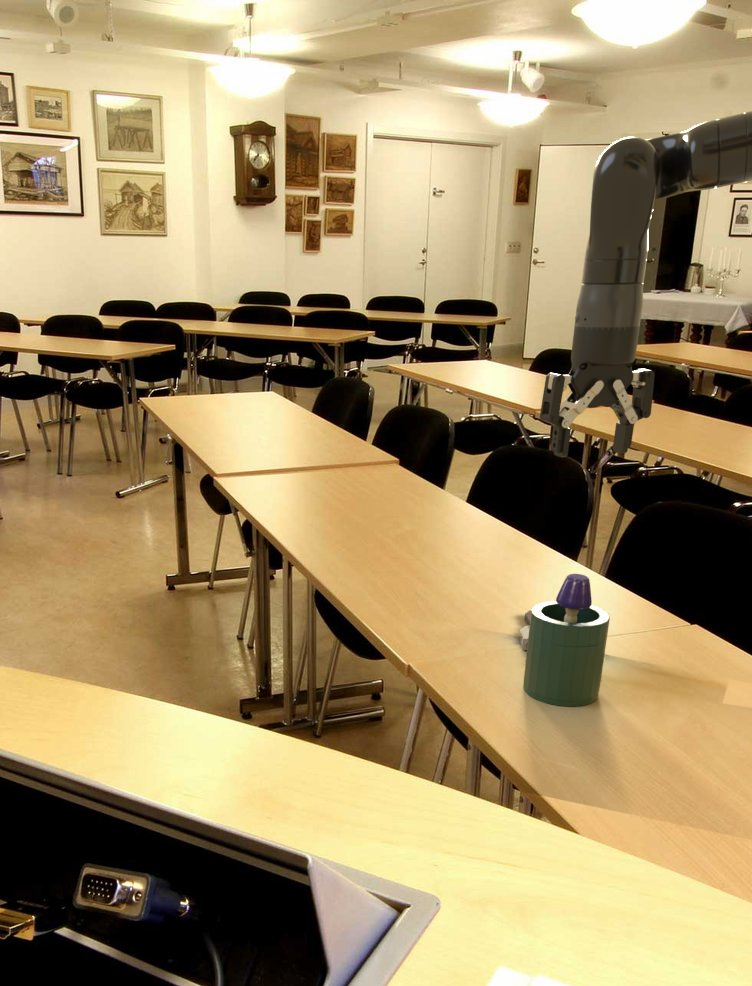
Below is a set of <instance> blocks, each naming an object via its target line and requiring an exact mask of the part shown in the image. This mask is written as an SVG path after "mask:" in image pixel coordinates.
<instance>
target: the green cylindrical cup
mask: <svg viewBox="0 0 752 986" xmlns="http://www.w3.org/2000/svg"><path fill="white" fill-rule="evenodd" d="M530 610H531V618H530V627H529V636H528V645H527V650H526V654H525V655H526V656H525V663H524V673H523V685H522V688H523V691H524V692H525V693H526V694H527V695H528V696H529V697H530V698H532V699H535V700H537V701H539V702H542V703H544V704H548V705H554V706H558V707H560V706H561V707H580V706H586V705H590V704H592V703H594V702H595V701H596V700H597V699H598V697H599V692H600V688H601V682H602V674H603V668H604V661H605V654H606V647H607V639H608V633H609V627H610V619H611V617H610V614H609V613H608V612H607V611H605V610H604V609H603V608H600V607H598V606H595V605H592V604H591V606H590V607H589V608H588V609H583V610H579V612H578V614H577V622H576V623H567V622H564V617H565V615H566V608H565V607H562V606H560V605H559V604H557V602H556V600H550V601H549V600H548V601H544V602H540V603H538V604H537V603H536V604H535V605H534V606H533V607H532V608H531V609H530Z"/></svg>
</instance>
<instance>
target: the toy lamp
mask: <svg viewBox="0 0 752 986" xmlns="http://www.w3.org/2000/svg"><path fill="white" fill-rule="evenodd" d="M592 600H593V599H592V590H591V581H590V577H588V576H587V575H585V574H581V573H570V574H568V575H567V576H566V577H565V578H564V581H563V582H562V585H561V587H560V589H559V591H558V593H557V595H556V598H555V601H556V602H557V604H559V605H560V606H562V607H565V608H566V615H565V617H564V622H567V623H576V622H577V614H578V612H579V610H583V609H588V608H589V607H590V606H591V605H592V603H593V601H592Z"/></svg>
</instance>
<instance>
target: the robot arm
mask: <svg viewBox="0 0 752 986" xmlns="http://www.w3.org/2000/svg"><path fill="white" fill-rule="evenodd" d="M592 175H593V176H592V185H591V198H590V199H591V201H590V216H589V217H590V218H589V234H588V235H589V236H588V240H587V244H586V249H585V252H584V253H585V254H584V261H583V268H582V275H581V276H582V277H581V286H580V291H579V294H578V299H577V303H576V310H575V318H574V326H573V327H574V328H573V334H572V335H573V336H572V345H571V353H570V361H571V368H570V371H569V372H568V374H560V373H554V372H549V373H548V374H546V375H545V381H544V386H543V393H542V400H541V407H540V412H539V419H540V421H542V422H545V423H547V424H550V425H551V426H552V436H551V444H550V448H551V451H552V452H553V455H554V456H556V457H558V458H567V457H568V455H569V449H570V441H571V431H572V428H571V427H570V426H571V425H572V424H573V423H574V421H575V420H576V419H577V418H578V416H579V415H581V414H583V412H584V411H585V410H586V409H587V408H588V409H596V408H598V407H605V408H610V409H611V410H612V411H613V412H614V414H615V416H616V418H617V419H618V422H616V423H615V428H614V437H613V444H612V451H613V453H618V454H626V453H627V452H628V450H629V449H631V446H632V442H633V441H632V440H633V436H634V435H633V434H634V427H635V424H636V423H637V422H638V421H640V420H642V419H648V418H650V416H651V414H652V408H653V396H654V386H655V375H656V374H655V371H654V370H652V369H647V368H637V369H636V370H633V367H632V365H633V363H634V362H635V360H636V355H637V349H638V342H639V334H640V327H641V321H642V313H643V305H644V282H645V276H646V268H647V263H648V253H649V229H650V226H651V219H652V215H653V211H654V204H655V202H657V201H660V200H663V199H668V198H670V197H671V198H672V197H674V196H678V195H682V194H684V193H688V192H699V191H706V190H713V189H717V188H719V189H720V188H723V187H727V186H732V185H737V184H742V183H747V182H752V110H751V111H750V110H749V111H746V112H741V113H737V114H733V115H730V116H724V117H720V118H717V119H712V120H708V121H705V122H703V123H699V124H697V125H694V126H692V127H691V128H689V129H687V130H684V131H681V132H676V133H672V134H668V135H662V136H660V137H659V136H657V137H653V138H649V139H644V138H641V137H638V136H627V137H623V138H620V139H619V140H616V141H614V142H612V144H611V143H610V145H609V146H608V147H606V149H604V151H603V152H602V153H601V155H599V157H598V160H597V161H596V164H595V167H594V170H593V174H592ZM630 385H631V386H632V396H631V397H632V398H630V396H629V395H628V393H627V391H626V390H627V389H628V388H629V386H630ZM567 386H568V388H569V390H570V391H569V392H568V394H567V396H566V397H565V398H564V400H563V394H564V392H565V391H566V390H567ZM562 400H563V401H562Z"/></svg>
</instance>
